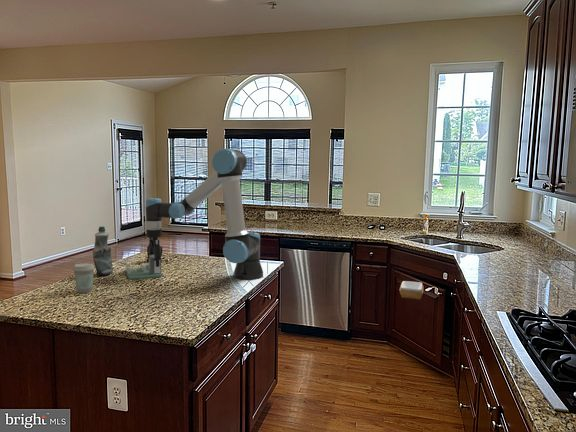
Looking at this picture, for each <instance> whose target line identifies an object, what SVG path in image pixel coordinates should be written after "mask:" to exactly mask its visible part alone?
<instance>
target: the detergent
mask: <svg viewBox="0 0 576 432" xmlns="http://www.w3.org/2000/svg"><path fill="white" fill-rule="evenodd" d="M94 236H95V237H94V239H95V240H94V247H93V249H92V257H93V265H94V268H95V271H96V272H95V273H96V275H98V276H107V275H110V274H112V273H113V271H114V267H113V260H112V248H111V246H109V245H108V240H109V232H106V228H105V226H103V225H102V226H99V227H98V232H96V233H95V234H94Z"/></svg>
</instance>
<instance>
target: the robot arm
mask: <svg viewBox="0 0 576 432" xmlns="http://www.w3.org/2000/svg"><path fill="white" fill-rule="evenodd" d="M247 163H248V160H247V157H246V154H245V153H243V151H241V150H239V149H233V148H220V149H219V150H217V151H216V152H215V153H214V155H213V157H212V159H211V164H212V168H213V169H214V172H213V173H212V174H210V175H209V177H207V178H206V179H205V180H203V182H202V183H201V184H199V185H198V186H197V187H196V188H195V189H193V191H191V192H190V193H189V194H188V195H186V196H185V197H184V198H183V199H182V200H181V201H177V202H162V199H161V198H157V197H155V198H153V197H152V198H151V197H149V198H147V199H145V218H146V219H145V229H146V232H145V234H146V237H147V238H148V239H149V242H148V245H149V251H148V252H149V257H154V258H155V259H153V261H154V273H160V260H161V259H162V256H161V254H160V246H161V245H160V240H159V239H158V238H161V237H162V236H163V230H162V224H163V221H162V218H165V219H166V218H167V219H175V220H176V219H182V218H183V217H184V216H190V215H191V214H193V213H194V211H195V209H196V208H197V207H198V206H200V204H202V203H204V201H206V200H207V199H208V198H210V197H211V195H213V194H214V193H215V192H216V191H218V189H220V188H222V195H223V196H222V197H223V206H224V215H225V220H226V221H225V222H226V229H227V231H226V233H225V235H224V239H225V241H224V244H223V247H222V252H223V256H224V258H225V259H226V260H227V261H228V262H230V263H232V264H235V267H234V269H233V270H234V271H233V278H235V279H237V280H245V281H252V280H258V279H261V278H263V277H264V270H263V268H262V267H263V266H262V263H261V234H260V233H258V232H252V231H251V232H249V231H248V230H247V229H246V224H245V216H244V215H245V214H244V205H243V199H242V189H241V181H240V180H241V179H242V177H243V171H244V170H245V169H246V168H247V167H246V166H247ZM153 254H154V255H153Z"/></svg>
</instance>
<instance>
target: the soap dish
mask: <svg viewBox="0 0 576 432" xmlns="http://www.w3.org/2000/svg"><path fill="white" fill-rule="evenodd" d="M399 294H400V296H401V299H402V298H403V299H404V298H405V299H412V300H413V299H415V300H419V301H420V300H421V298H422V296H423V294H424V285H423V283H422V282H420V281H419V282H418V281H409V280H403V281H402V282H401V284H400V287H399Z"/></svg>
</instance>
